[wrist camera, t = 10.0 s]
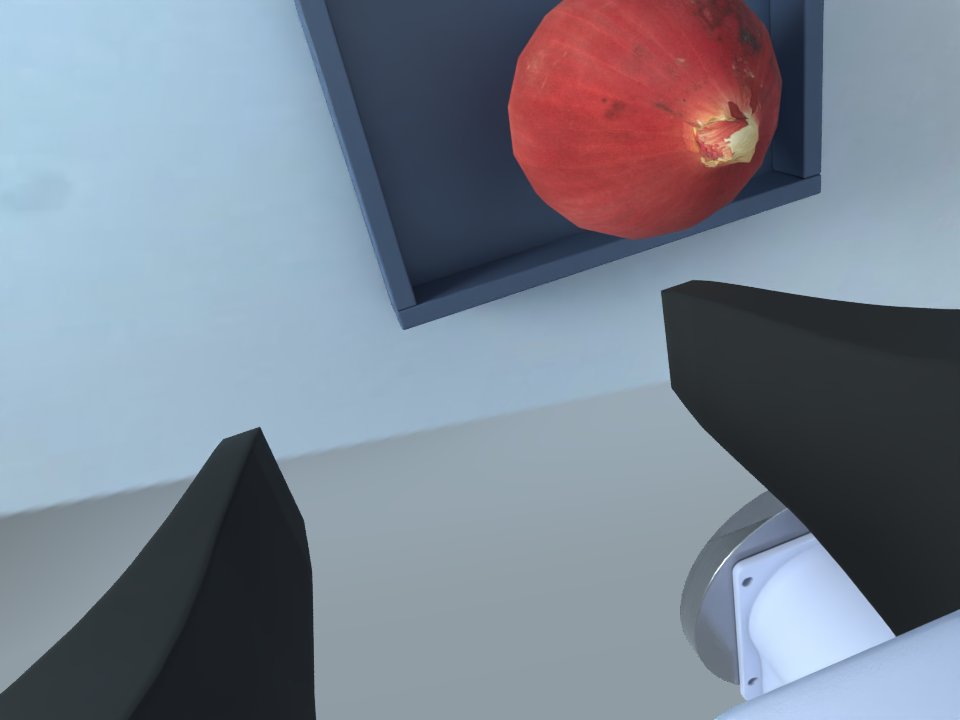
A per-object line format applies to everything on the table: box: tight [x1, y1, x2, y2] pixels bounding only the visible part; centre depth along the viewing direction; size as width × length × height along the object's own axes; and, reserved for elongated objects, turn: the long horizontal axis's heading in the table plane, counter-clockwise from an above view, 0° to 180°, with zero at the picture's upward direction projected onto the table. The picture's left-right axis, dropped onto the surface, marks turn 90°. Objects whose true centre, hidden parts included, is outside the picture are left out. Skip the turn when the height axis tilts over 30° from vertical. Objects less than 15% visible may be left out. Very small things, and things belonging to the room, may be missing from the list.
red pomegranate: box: [508, 0, 782, 240], centre depth 15 cm, size 6×6×8 cm
